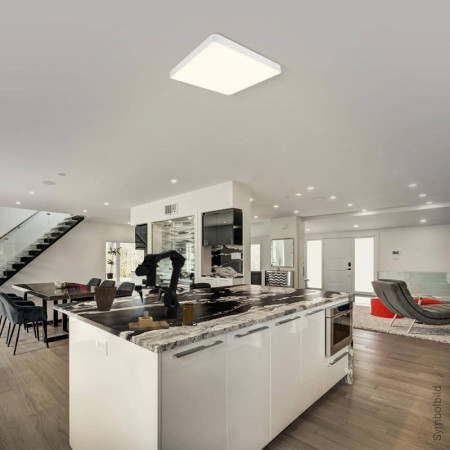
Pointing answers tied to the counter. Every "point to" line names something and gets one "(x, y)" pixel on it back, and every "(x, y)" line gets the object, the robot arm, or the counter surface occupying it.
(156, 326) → the board
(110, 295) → the plant pot
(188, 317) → the condiment
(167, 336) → the counter surface
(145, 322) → the open wall cube
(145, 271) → the robot arm
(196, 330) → the counter surface
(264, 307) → the counter surface
